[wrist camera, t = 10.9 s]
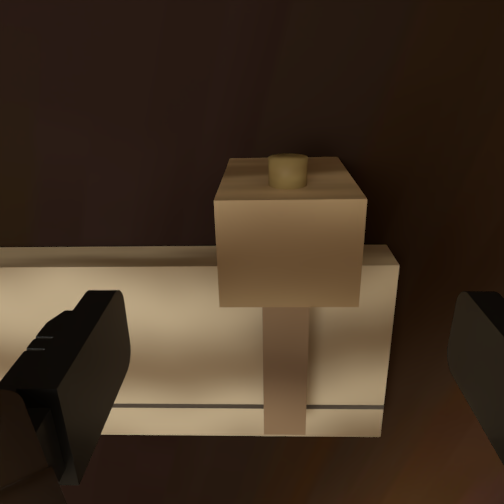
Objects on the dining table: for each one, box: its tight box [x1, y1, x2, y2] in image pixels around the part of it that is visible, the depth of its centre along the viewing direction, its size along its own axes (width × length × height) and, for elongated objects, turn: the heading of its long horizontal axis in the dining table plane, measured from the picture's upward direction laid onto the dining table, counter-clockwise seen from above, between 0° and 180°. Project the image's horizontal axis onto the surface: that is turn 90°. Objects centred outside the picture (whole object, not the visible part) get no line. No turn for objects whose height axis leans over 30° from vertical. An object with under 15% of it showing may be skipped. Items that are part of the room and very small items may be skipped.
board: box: [0, 245, 400, 437], centre depth 24 cm, size 10×28×3 cm, turn 91°
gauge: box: [214, 153, 367, 435], centre depth 20 cm, size 14×5×7 cm, turn 1°
